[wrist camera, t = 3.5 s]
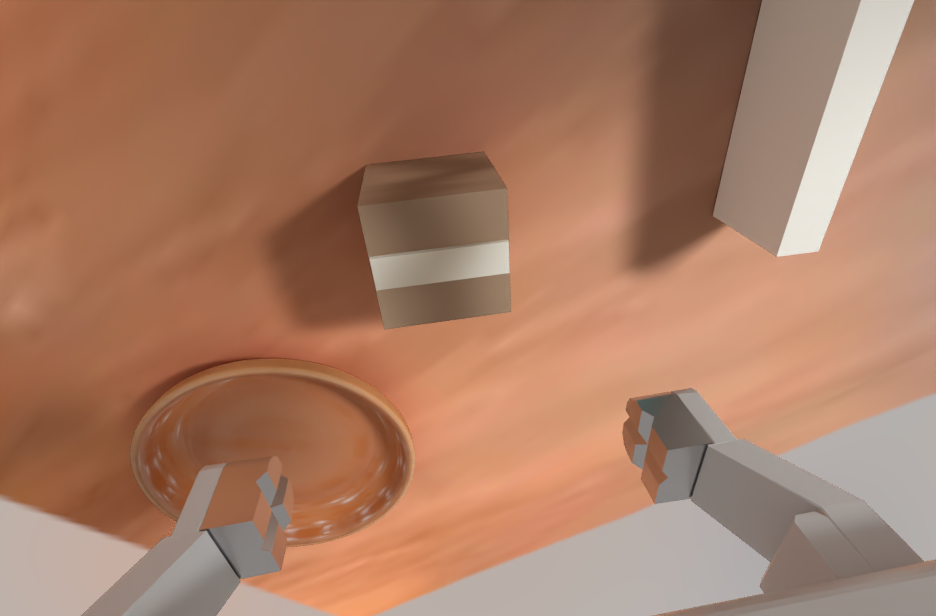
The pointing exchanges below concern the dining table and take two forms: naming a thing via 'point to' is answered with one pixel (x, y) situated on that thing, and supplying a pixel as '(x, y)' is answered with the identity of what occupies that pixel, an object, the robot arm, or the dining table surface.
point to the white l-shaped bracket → (804, 116)
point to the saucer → (281, 441)
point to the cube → (436, 238)
